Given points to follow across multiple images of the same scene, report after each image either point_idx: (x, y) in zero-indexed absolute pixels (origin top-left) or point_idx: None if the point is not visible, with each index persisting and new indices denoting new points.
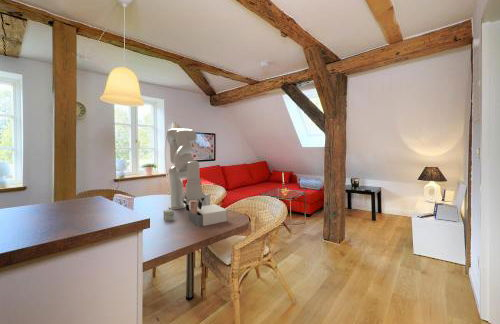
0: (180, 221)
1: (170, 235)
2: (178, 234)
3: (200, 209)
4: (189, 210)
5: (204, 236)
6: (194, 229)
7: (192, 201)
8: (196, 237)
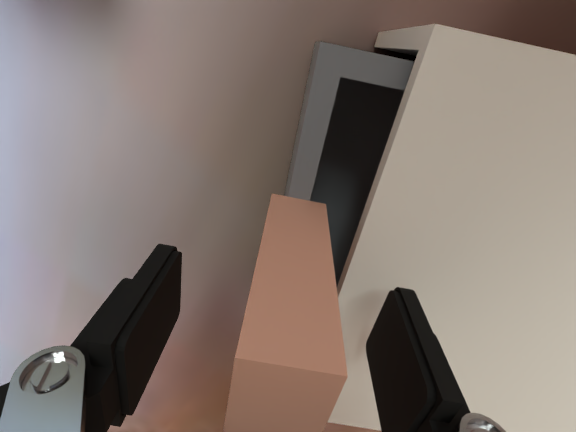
0: (186, 37)
1: (17, 302)
2: (74, 320)
3: (430, 263)
4: (310, 88)
5: (203, 418)
6: (206, 322)
7: (277, 400)
8: (160, 405)
